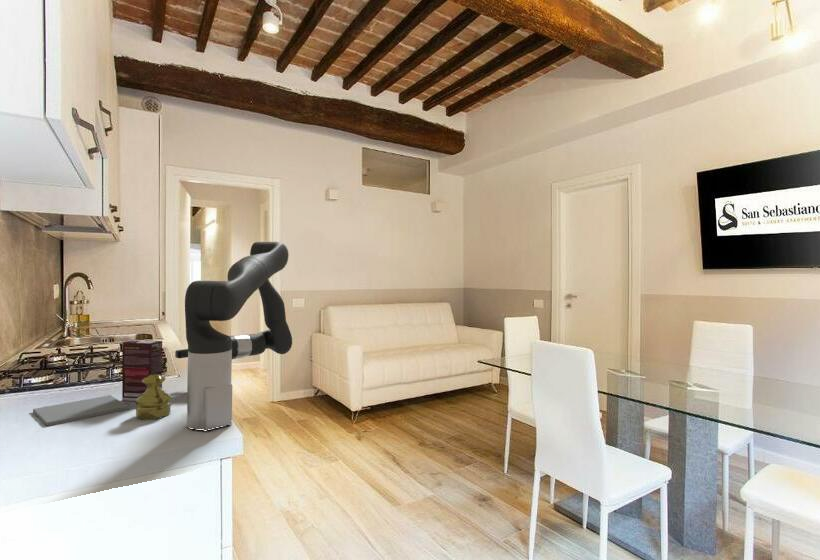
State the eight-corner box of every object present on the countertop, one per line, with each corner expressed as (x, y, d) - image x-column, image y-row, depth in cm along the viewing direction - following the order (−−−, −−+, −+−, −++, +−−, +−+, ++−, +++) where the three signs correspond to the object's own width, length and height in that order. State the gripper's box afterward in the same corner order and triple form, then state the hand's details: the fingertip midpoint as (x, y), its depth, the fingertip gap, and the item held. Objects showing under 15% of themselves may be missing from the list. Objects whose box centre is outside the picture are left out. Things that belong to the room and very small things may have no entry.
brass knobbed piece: (177, 412, 106) (178, 372, 106) (150, 422, 99) (151, 379, 99) (156, 408, 109) (156, 369, 109) (128, 417, 102) (128, 376, 102)
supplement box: (163, 397, 118) (163, 340, 118) (150, 402, 114) (151, 343, 113) (134, 395, 119) (134, 339, 119) (120, 400, 114) (121, 342, 114)
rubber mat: (128, 409, 108) (128, 406, 108) (46, 426, 95) (46, 422, 95) (110, 398, 116) (110, 395, 116) (33, 412, 104) (33, 408, 104)
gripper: (223, 333, 141) (167, 338, 127) (244, 337, 132) (186, 344, 119) (222, 355, 141) (166, 363, 127) (244, 361, 132) (186, 371, 119)
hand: (176, 354), depth 123 cm, fingers closed
